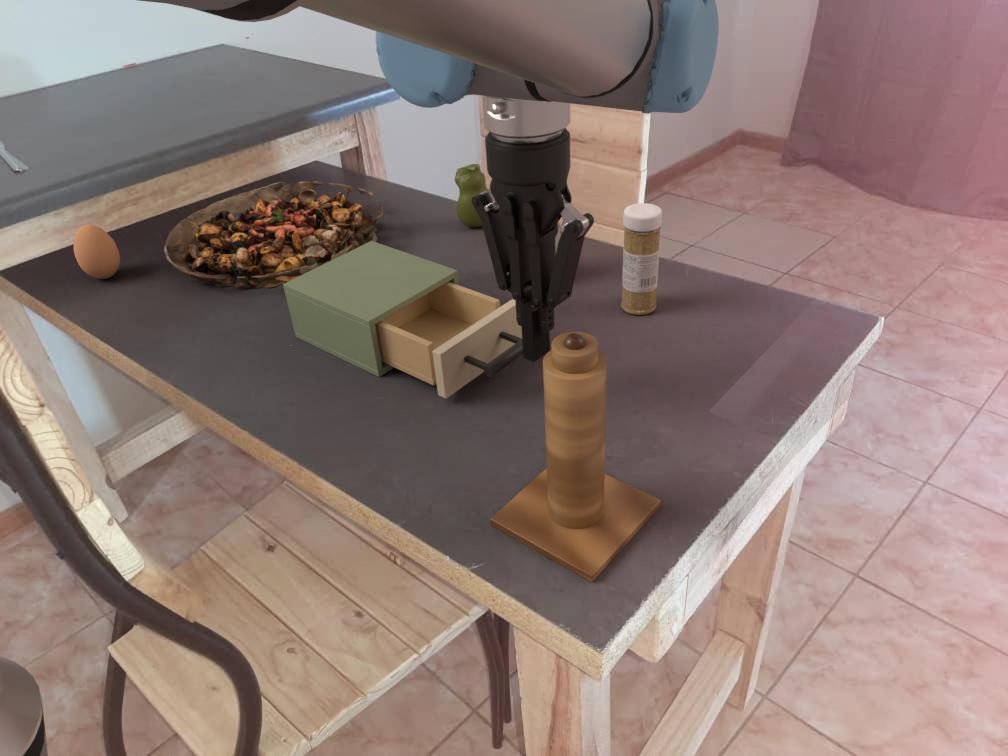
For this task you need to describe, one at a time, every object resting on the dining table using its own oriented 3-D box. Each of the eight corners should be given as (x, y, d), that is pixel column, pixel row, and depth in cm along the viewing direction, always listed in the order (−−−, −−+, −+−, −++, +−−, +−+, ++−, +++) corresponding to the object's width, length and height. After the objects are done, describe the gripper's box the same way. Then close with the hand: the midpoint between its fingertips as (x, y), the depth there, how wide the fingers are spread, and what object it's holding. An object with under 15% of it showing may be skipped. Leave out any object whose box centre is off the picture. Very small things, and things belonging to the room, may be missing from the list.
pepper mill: (583, 537, 67) (583, 360, 56) (536, 513, 70) (528, 339, 59) (614, 504, 70) (620, 330, 59) (569, 482, 73) (567, 311, 62)
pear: (471, 235, 121) (466, 173, 115) (451, 226, 124) (445, 165, 118) (499, 224, 123) (495, 163, 118) (478, 215, 127) (473, 155, 121)
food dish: (418, 264, 116) (411, 216, 111) (192, 330, 105) (173, 280, 100) (345, 185, 141) (337, 143, 136) (157, 231, 130) (141, 187, 125)
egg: (80, 277, 116) (59, 226, 112) (119, 264, 119) (100, 214, 115) (92, 290, 113) (71, 237, 108) (132, 276, 116) (112, 224, 111)
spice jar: (651, 297, 102) (657, 200, 94) (660, 314, 98) (667, 214, 90) (616, 300, 101) (619, 203, 94) (624, 318, 98) (628, 218, 90)
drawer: (551, 355, 90) (550, 312, 87) (475, 413, 82) (471, 367, 79) (435, 310, 100) (429, 269, 97) (357, 357, 92) (348, 315, 89)
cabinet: (463, 323, 99) (457, 270, 95) (379, 377, 90) (368, 321, 86) (380, 290, 108) (371, 240, 103) (295, 337, 99) (282, 284, 94)
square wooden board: (592, 582, 64) (592, 576, 63) (490, 524, 70) (489, 518, 69) (660, 506, 70) (661, 499, 70) (562, 459, 76) (562, 453, 76)
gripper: (443, 130, 69) (466, 351, 83) (561, 155, 62) (565, 392, 76) (497, 108, 74) (511, 320, 87) (613, 129, 67) (608, 357, 80)
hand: (536, 354), depth 82 cm, fingers closed
